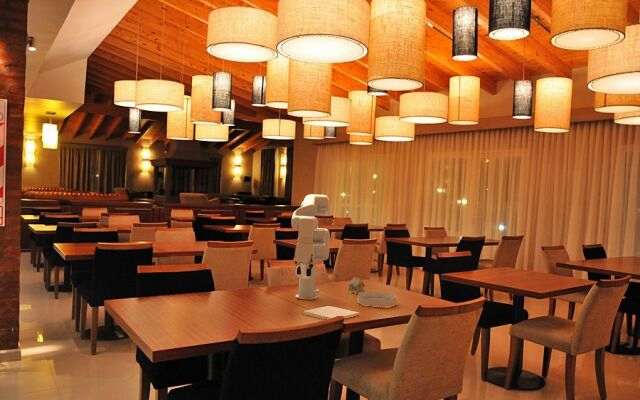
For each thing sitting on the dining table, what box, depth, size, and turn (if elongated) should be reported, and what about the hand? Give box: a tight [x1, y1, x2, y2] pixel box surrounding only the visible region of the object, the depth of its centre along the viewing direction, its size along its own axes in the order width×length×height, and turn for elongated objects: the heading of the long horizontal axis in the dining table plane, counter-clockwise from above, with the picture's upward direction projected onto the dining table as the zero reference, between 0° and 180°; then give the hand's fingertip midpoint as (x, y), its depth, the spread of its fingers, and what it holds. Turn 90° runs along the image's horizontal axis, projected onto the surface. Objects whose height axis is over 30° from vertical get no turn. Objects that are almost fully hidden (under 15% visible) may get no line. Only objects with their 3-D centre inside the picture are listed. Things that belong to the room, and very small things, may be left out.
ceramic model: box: [346, 276, 367, 294], centre depth 325 cm, size 14×11×10 cm
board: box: [302, 305, 360, 321], centre depth 261 cm, size 20×20×2 cm
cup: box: [294, 263, 312, 279], centre depth 274 cm, size 7×10×8 cm
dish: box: [356, 291, 397, 307], centre depth 294 cm, size 22×22×5 cm
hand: (303, 274), depth 273 cm, fingers closed on cup, 6 cm apart
